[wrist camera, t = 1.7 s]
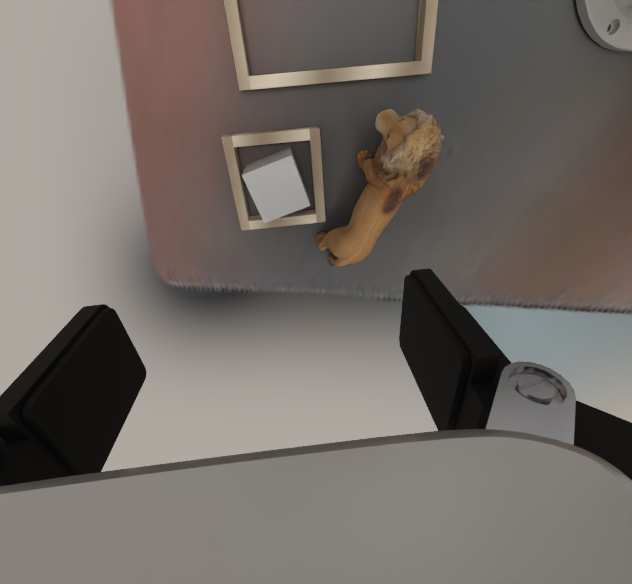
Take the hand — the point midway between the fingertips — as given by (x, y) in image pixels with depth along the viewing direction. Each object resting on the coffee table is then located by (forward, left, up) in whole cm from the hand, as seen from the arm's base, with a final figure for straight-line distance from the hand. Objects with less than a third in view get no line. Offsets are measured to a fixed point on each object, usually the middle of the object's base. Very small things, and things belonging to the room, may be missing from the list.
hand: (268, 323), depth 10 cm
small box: (0, 0, -20) cm, 20 cm away
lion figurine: (-7, +2, -21) cm, 22 cm away
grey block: (0, 0, -20) cm, 20 cm away
